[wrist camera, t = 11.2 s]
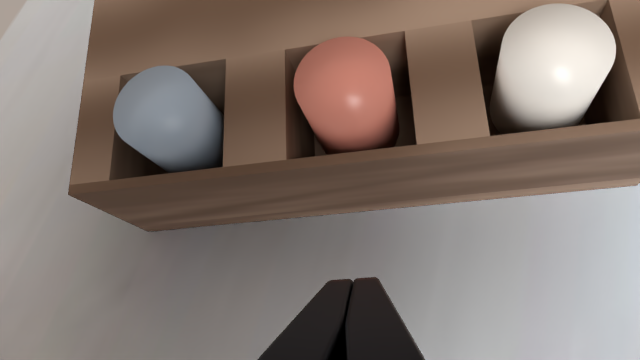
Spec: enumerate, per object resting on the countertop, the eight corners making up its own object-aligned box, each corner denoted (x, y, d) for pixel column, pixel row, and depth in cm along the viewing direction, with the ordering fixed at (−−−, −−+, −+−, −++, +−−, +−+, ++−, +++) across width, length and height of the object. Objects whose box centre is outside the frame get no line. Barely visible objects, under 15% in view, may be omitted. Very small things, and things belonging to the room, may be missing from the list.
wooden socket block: (636, 185, 22) (705, 123, 16) (148, 231, 26) (68, 194, 20) (585, -12, 25) (627, -120, 19) (161, 56, 29) (96, -17, 23)
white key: (590, 142, 20) (627, 87, 16) (496, 152, 20) (509, 102, 16) (571, 64, 21) (602, -5, 17) (483, 76, 21) (494, 12, 18)
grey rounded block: (237, 181, 22) (195, 142, 18) (164, 189, 23) (108, 153, 19) (239, 110, 23) (199, 59, 20) (169, 119, 24) (117, 72, 20)
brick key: (403, 162, 21) (395, 116, 17) (320, 172, 22) (294, 129, 18) (396, 88, 22) (387, 29, 18) (317, 99, 23) (292, 44, 19)
